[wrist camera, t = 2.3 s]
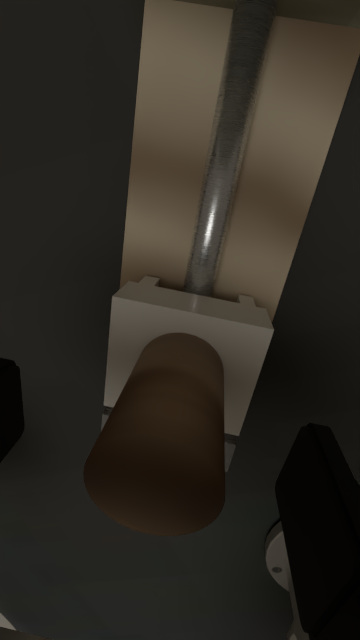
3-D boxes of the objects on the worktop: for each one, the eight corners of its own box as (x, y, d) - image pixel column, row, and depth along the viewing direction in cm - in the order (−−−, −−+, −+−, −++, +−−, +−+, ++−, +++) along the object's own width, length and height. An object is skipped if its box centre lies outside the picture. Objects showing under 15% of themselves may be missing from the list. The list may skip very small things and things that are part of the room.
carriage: (235, 388, 18) (248, 579, 9) (126, 364, 19) (36, 525, 10) (262, 298, 16) (316, 438, 7) (136, 273, 16) (28, 373, 7)
